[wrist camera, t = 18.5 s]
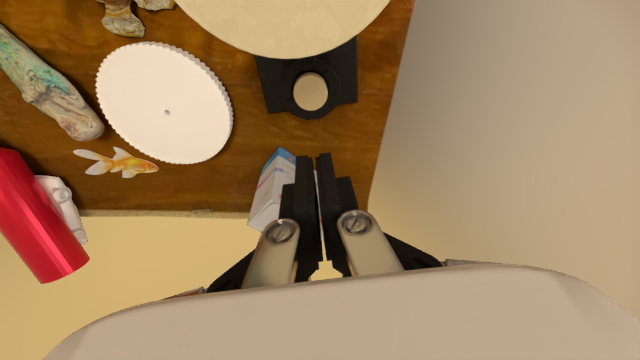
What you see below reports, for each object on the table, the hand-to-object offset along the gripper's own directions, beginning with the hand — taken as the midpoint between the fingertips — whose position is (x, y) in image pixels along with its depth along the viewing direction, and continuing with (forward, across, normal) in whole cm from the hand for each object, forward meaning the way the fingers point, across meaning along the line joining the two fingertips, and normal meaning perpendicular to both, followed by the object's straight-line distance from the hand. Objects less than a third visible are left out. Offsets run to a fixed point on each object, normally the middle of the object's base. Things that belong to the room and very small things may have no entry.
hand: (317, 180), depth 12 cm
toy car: (+18, +40, +13) cm, 45 cm away
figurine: (+21, +29, -4) cm, 37 cm away
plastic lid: (+21, +17, +1) cm, 27 cm away
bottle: (+14, +38, +20) cm, 46 cm away
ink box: (+21, +4, +12) cm, 25 cm away
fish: (+21, +29, +10) cm, 37 cm away
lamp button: (+18, 0, 0) cm, 18 cm away
